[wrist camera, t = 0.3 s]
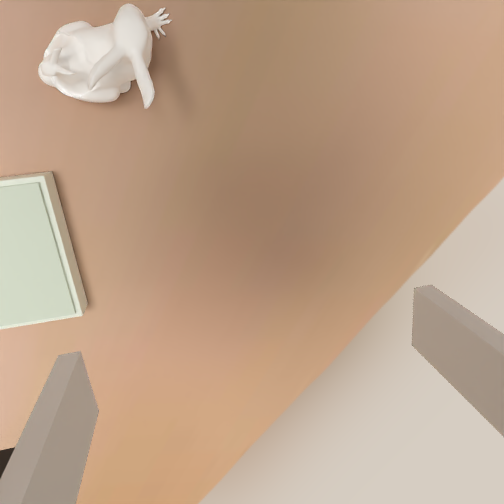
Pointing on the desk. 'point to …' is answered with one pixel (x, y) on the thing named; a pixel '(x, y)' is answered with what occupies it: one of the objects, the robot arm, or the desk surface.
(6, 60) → the desk surface
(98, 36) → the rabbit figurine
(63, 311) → the tray
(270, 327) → the desk surface
